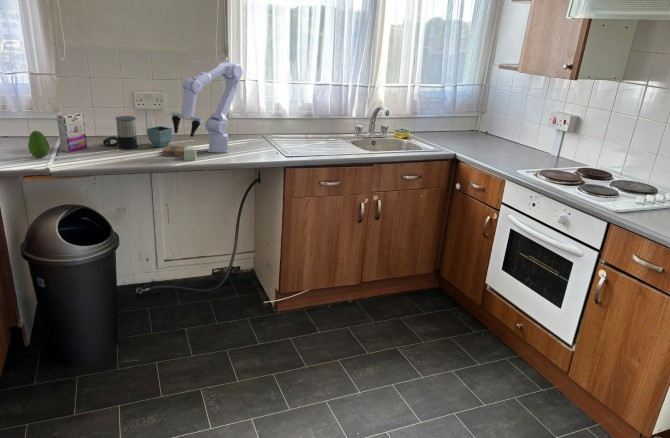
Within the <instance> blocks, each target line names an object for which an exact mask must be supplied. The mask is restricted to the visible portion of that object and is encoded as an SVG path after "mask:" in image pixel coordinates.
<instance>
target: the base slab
mask: <svg viewBox="0 0 670 438" xmlns="http://www.w3.org/2000/svg"><path fill="white" fill-rule="evenodd" d="M185 147H188V146H183V145H181V146H180V145H168V146H164V147H163V149H162V157H181V158H182V157H183V158H184V148H185Z"/></svg>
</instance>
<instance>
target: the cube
mask: <svg viewBox="0 0 670 438" xmlns="http://www.w3.org/2000/svg"><path fill="white" fill-rule="evenodd" d="M183 159H184V161H196V159H197V146H195V147H194V146H187V147H185V148H184V157H183Z"/></svg>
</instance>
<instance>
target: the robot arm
mask: <svg viewBox="0 0 670 438" xmlns="http://www.w3.org/2000/svg"><path fill="white" fill-rule="evenodd" d="M243 73H244V72H243V69H242V66H241V64H239V63H232V62H227V61H222V62H221V63H219V64H218V66H216V67H214V68H213V69H212V70H210V71H208V72H205V71H200V72H199V74H197V75H196V76H192V78H186V80H184V82H183V83H182V89H183V97H182V105H181V110H180V113H179V112H174V111H171V112H170V117H171V119H172V124H173V129H174V131H173V132H174V134H178V132H179V126H180V123H181V119H184V120H189V121H191V130H190V138H191V137H192V138H193V137H194V136H195V134H196V133H195V132H197V129H198V128H199V126H200V125H201V123H203V120H204V118H202V117H201V118H200V117H197V116H195V109H196V104H197V98H198V93H200V92H201V90H202V89H203V88H204V87H206V86H208V85H210V84H211V83H212V80H214V79H216V78H219V77H220V76H222V77H223V78H224V81H225V82H226V86H225V88H224V91H223V92H222V95H221V98H220V100H219V102H218V104H217V107H216V109H215V112H214V113H212V114H210V115H209V118H207V119H206V121H205V123H204V124H205V125H204V127H205V130H206V131H207V133H208V149H207V153H222V154H225V153H228V151H229V140H228V139H229V135H228V133H226V132H227V129H228V123H229V120H228V118H227V115H228V112H229V110H230V108H231V105H232V104H233V101H234V98H235V96H236V93H237V92H238V88H239V86H240V80H241V78H242V76H243Z"/></svg>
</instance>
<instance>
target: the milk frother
mask: <svg viewBox="0 0 670 438" xmlns="http://www.w3.org/2000/svg"><path fill="white" fill-rule="evenodd" d="M114 119H115V121H116V123H115V124H116V132H117V136H109V137H106V138H105V139H104V140H103V141H102V143H103V146H106V147H114V146H117V145H118V146H117V149H119V150H122V151H130V150H132V151H133V150H136V149H138V148H139V146H138V139H137V128H136V127H137V126H136V117H135V116H132V115H122V116H121V115H120V116H115V118H114ZM111 140H115V141H116V142H114V143H111Z"/></svg>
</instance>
